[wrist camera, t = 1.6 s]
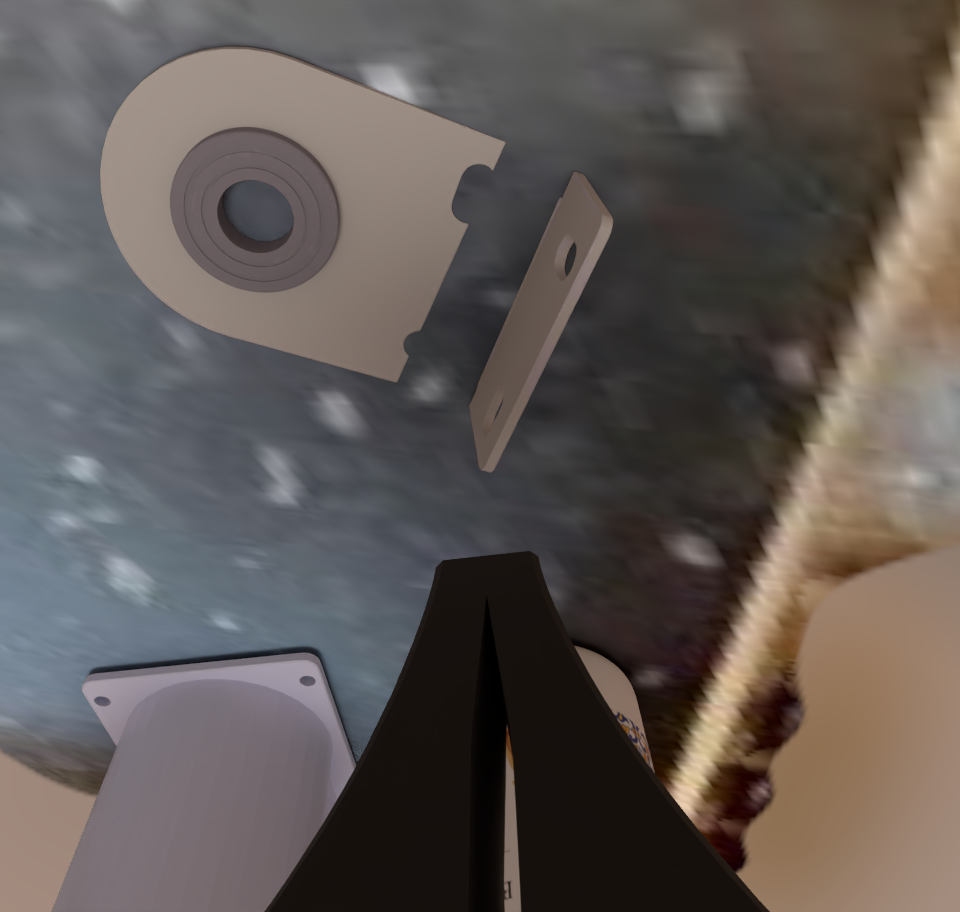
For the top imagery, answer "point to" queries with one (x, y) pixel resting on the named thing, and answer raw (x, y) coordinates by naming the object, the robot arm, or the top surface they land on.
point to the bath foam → (628, 715)
